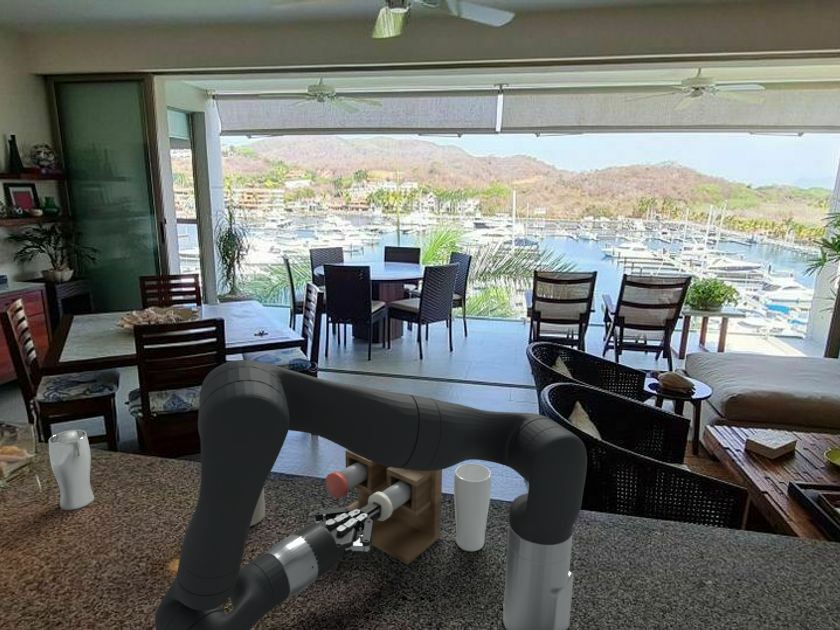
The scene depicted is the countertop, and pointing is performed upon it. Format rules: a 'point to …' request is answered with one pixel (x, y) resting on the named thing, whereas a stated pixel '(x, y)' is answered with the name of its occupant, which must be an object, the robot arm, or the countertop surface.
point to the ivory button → (392, 498)
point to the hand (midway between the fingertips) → (377, 507)
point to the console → (402, 509)
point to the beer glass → (72, 468)
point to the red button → (346, 479)
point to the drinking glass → (471, 505)
